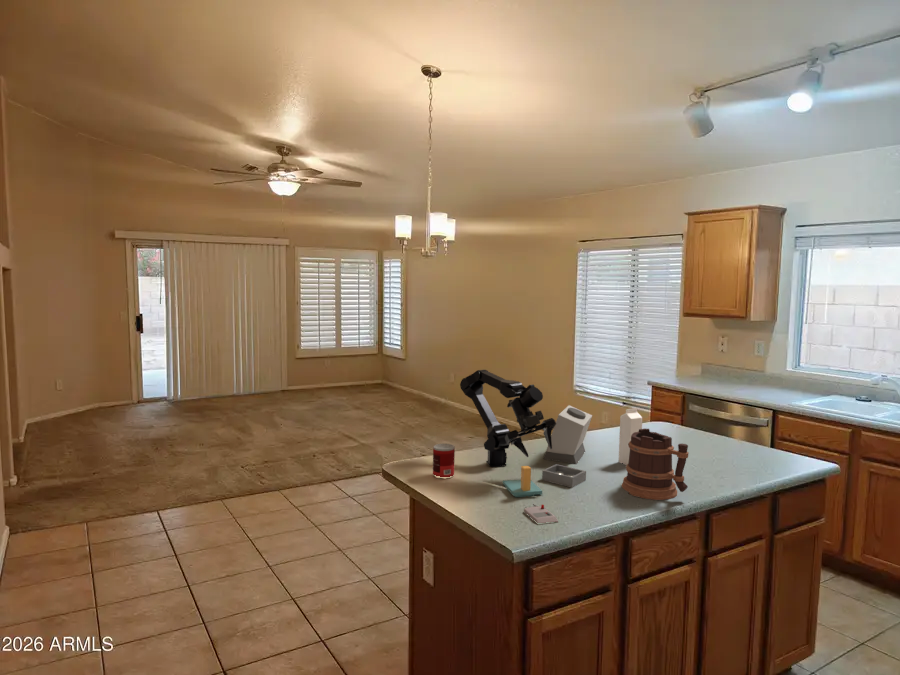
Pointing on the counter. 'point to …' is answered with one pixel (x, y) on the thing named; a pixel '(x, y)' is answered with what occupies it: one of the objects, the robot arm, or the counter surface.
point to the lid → (523, 484)
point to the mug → (654, 466)
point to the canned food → (443, 460)
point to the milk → (628, 432)
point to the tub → (563, 479)
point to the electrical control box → (540, 514)
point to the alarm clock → (568, 436)
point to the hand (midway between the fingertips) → (539, 452)
